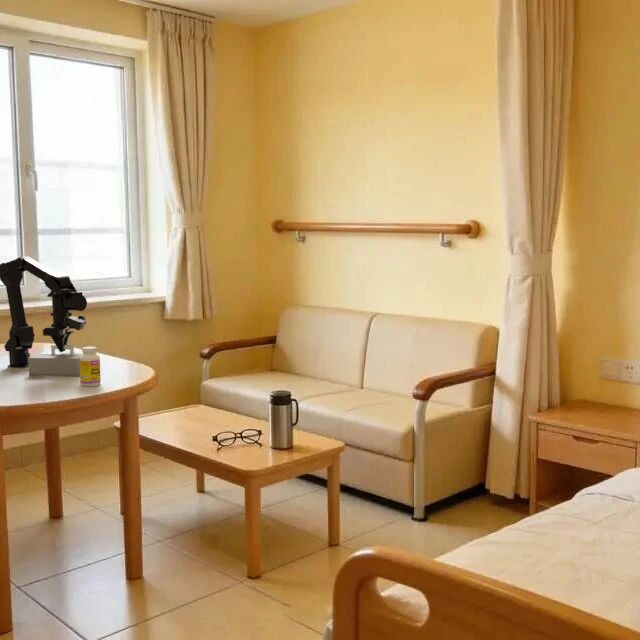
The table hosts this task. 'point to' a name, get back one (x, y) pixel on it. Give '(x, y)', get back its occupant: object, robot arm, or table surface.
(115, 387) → the table surface
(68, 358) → the cabinet
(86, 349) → the supplement bottle
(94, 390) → the table surface
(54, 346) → the rear flap
